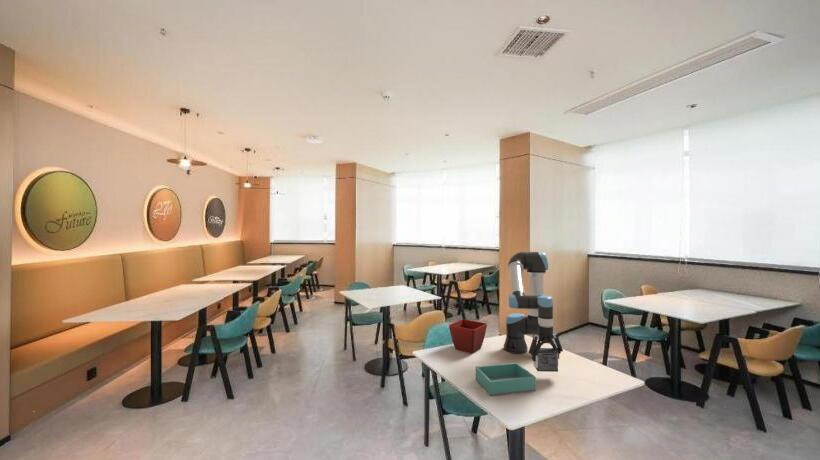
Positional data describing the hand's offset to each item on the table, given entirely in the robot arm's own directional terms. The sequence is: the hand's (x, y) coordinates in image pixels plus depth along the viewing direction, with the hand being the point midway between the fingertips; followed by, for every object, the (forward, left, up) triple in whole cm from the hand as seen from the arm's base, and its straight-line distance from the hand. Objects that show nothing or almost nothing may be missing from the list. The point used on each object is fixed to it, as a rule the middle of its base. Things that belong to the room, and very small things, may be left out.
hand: (545, 365), depth 176 cm
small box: (0, 0, -2) cm, 2 cm away
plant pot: (+24, -51, -7) cm, 56 cm away
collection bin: (+25, +2, -7) cm, 26 cm away
